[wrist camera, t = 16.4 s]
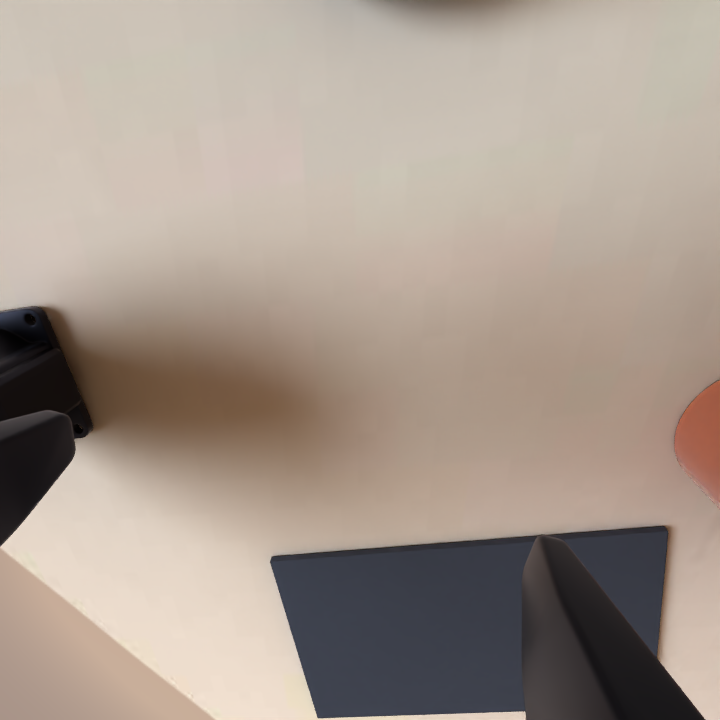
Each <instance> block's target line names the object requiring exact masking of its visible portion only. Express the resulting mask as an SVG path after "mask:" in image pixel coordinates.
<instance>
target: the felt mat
mask: <svg viewBox="0 0 720 720" xmlns="http://www.w3.org/2000/svg"><path fill="white" fill-rule="evenodd" d="M546 536H550V537H554V538H558V539H561V540H563V541H564V542H566V543H567V545H568V546H569V547H570V548H571V550H572V551H573V552H574V554H575V555H576V556H577V557H578V559H579V560H580V561H581V562H582V564H583V565H584V566H585V568H586V569H587V570H588V571H589V573H590V574H591V575H592V576H593V578H594V579H595V580H596V581H597V583H598V584H599V585H600V587H601V588H602V589H603V590H604V592H605V593H606V594H607V595H608V597H609V598H610V599H611V601H612V602H613V603H614V604H615V606H616V607H617V608H618V609H619V611H620V612H621V613H622V615H623V616H624V617H625V618H626V620H627V621H628V622H629V623H630V625H631V626H632V627H633V629H634V630H635V631H636V632H637V634H638V635H639V636H640V637H641V639H642V640H643V641H644V643H645V644H646V645H647V646H648V648H649V649H650V650H651V651H652V653H653V654H654V655H655V656H656V658H657V650H658V639H659V628H660V618H661V607H662V596H663V585H664V574H665V563H666V552H667V541H668V530H667V529H666V528H665V526H660V527H647V528H634V529H621V530H609V531H596V532H583V533H570V534H557V535H546ZM537 537H538V536H532V537H519V538H506V539H493V540H480V541H467V542H455V543H442V544H429V545H416V546H403V547H390V548H377V549H365V550H352V551H339V552H326V553H313V554H300V555H288V556H275V557H272V558H271V561H270V563H271V566H272V570H273V573H274V576H275V579H276V583H277V586H278V589H279V593H280V596H281V599H282V602H283V606H284V609H285V612H286V616H287V619H288V622H289V625H290V629H291V632H292V635H293V639H294V642H295V645H296V648H297V652H298V655H299V658H300V662H301V665H302V668H303V671H304V675H305V678H306V681H307V684H308V688H309V691H310V694H311V698H312V701H313V704H314V707H315V711H316V714H317V717H318V718H338V717H367V716H397V715H427V714H456V713H486V712H516V711H525V703H524V693H523V682H522V658H521V650H522V575H523V570H524V566H525V564H526V561H527V559H528V556H529V554H530V551H531V549H532V546H533V544H534V542H535V539H536V538H537Z"/></svg>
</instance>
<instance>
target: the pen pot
mask: <svg viewBox="0 0 720 720" xmlns="http://www.w3.org/2000/svg"><path fill="white" fill-rule="evenodd" d="M674 446H675V454H676V457H677V460H678V462H679V464H680V466H681V468H682V469H683V471H684V472H685V473H686V474H687V475H688V476H689V477H690V478H691V479H692V481H693V482H694V483H695V484H696V485H697V486H698V487H699V488H700V489H701V490H702V491H703V492H704V493H705V494H706V495H707V496H708V498H709V499H710V500H711V501H712V502H713V503H714V504H715V505H716V506H717V507H718V508H719V509H720V380H718V381H716V382H715V383H713V384H712V385H710V386H709V387H708V388H706V389H705V390H704V391H702V392H701V393H700V394H699V395H698V396H697V397H696V398H695V399H694V400H693V401H692V402H691V403H690V405H689V406H688V407H687V409H686V410H685V412H684V413H683V415H682V417H681V419H680V421H679V423H678V426H677V429H676V433H675V441H674Z"/></svg>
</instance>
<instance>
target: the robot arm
mask: <svg viewBox="0 0 720 720" xmlns="http://www.w3.org/2000/svg"><path fill="white" fill-rule="evenodd" d="M31 315H32V316H34V318H35V319H36V322H35V321H33V320H32V318H31ZM78 424H79V425H80V426H82V428H83V429H82V428H80V427H79V426H78ZM92 430H93V424H92V421H91V419H90V416H89V414H88V412H87V409H86V407H85V405H84V402H83V400H82V398H81V395H80V393H79V391H78V388H77V386H76V383H75V381H74V379H73V376H72V374H71V372H70V369H69V367H68V365H67V362H66V360H65V358H64V355H63V353H62V350H61V348H60V346H59V343H58V341H57V339H56V336H55V334H54V332H53V329H52V327H51V324H50V322H49V320H48V317H47V315H46V314H45V312H44V311H43V310H42V309H41V308H38V307H36V306H30V307H24V308H18V309H11V310H5V311H0V546H1V545H2V544H3V543H4V542H5V541H6V540H7V539H8V538H9V537H10V536H11V535H12V534H13V533H14V531H15V530H16V529H17V528H18V527H19V526H20V525H21V524H22V522H23V521H24V520H25V519H26V518H27V516H28V515H29V514H30V513H31V511H32V510H33V509H34V508H35V506H36V505H37V504H38V503H39V501H40V500H41V499H42V498H43V496H44V495H45V494H46V493H47V491H48V490H49V489H50V488H51V486H52V485H53V484H54V482H55V481H56V480H57V479H58V477H59V476H60V475H61V474H62V472H63V471H64V470H65V469H66V467H67V466H68V465H69V464H70V462H71V461H72V459H73V457H74V455H75V450H76V449H75V441H74V439H76V438H83V437H86V436H87V435H88V434H89V433H90V432H91V431H92ZM521 658H522V682H523V693H524V703H525V712H526V720H705V719H704V718H703V716H702V715H701V714H700V712H699V711H698V710H697V709H696V707H695V706H694V705H693V704H692V702H691V701H690V700H689V698H688V697H687V696H686V695H685V693H684V692H683V691H682V690H681V688H680V687H679V686H678V684H677V683H676V682H675V681H674V679H673V678H672V677H671V676H670V674H669V673H668V672H667V670H666V669H665V668H664V667H663V665H662V664H661V663H660V662H659V660H658V659H657V658H656V656H655V655H654V654H653V653H652V651H651V650H650V649H649V648H648V646H647V645H646V644H645V643H644V641H643V640H642V639H641V637H640V636H639V635H638V634H637V632H636V631H635V630H634V629H633V627H632V626H631V625H630V623H629V622H628V621H627V620H626V618H625V617H624V616H623V615H622V613H621V612H620V611H619V609H618V608H617V607H616V606H615V604H614V603H613V602H612V601H611V599H610V598H609V597H608V595H607V594H606V593H605V592H604V590H603V589H602V588H601V587H600V585H599V584H598V583H597V581H596V580H595V579H594V578H593V576H592V575H591V574H590V573H589V571H588V570H587V569H586V568H585V566H584V565H583V564H582V562H581V561H580V560H579V559H578V557H577V556H576V555H575V554H574V552H573V551H572V550H571V548H570V547H569V546H568V545H567V543H566V542H564V541H563V540H561V539H558V538H554V537H550V536H546V535H539V536H538V537H537V538H536V539H535V542H534V544H533V546H532V549H531V551H530V554H529V556H528V559H527V561H526V564H525V566H524V570H523V575H522V650H521Z"/></svg>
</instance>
